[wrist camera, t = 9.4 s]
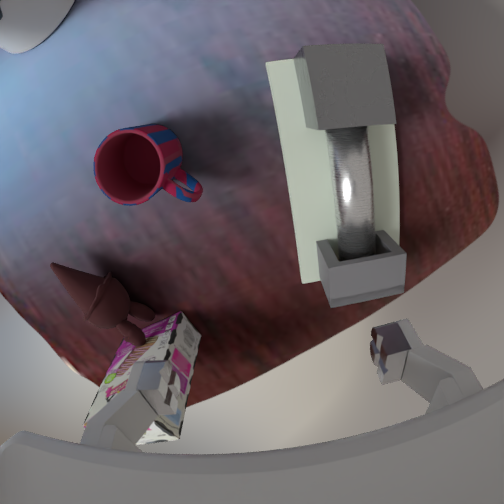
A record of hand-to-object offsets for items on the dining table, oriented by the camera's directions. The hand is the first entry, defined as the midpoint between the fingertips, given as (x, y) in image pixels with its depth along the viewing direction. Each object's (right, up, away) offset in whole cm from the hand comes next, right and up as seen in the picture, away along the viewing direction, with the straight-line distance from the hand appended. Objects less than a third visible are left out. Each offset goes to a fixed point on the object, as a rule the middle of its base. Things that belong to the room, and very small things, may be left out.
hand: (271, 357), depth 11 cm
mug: (-10, +13, +19) cm, 25 cm away
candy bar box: (-13, -7, +28) cm, 32 cm away
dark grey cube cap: (+7, +20, +14) cm, 25 cm away
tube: (+9, +10, +19) cm, 23 cm away
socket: (+10, +4, +22) cm, 24 cm away
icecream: (-19, 0, +25) cm, 31 cm away
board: (+9, +13, +19) cm, 24 cm away
